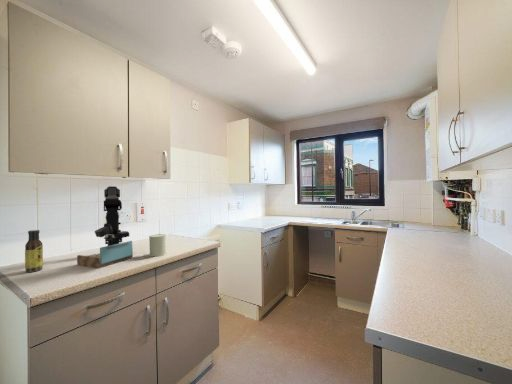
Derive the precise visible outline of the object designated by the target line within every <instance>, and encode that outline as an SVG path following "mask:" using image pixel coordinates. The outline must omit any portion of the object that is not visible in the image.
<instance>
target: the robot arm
mask: <svg viewBox="0 0 512 384" xmlns="http://www.w3.org/2000/svg"><path fill="white" fill-rule="evenodd" d="M103 191H104V193H103V194H104V195H103V196H104V199H105V200H103V212H106V213H105V220H106V223H104V224H103V226H102V227H100V228H98V229H96V230H95V231H94V234H95V236H96V237H97V238H103V239H104V242H105V243H104V245H107V246H110V245H115V244H119V243H123V238H128V237H130V232H129V231H127V230H126V231H124V230H121V229H120V225H122V224H121V223H122V222H120V219H119V218H120V215H119V211H121V210H123V209H122V208H123V204H122V201H121V199H120V197H121V189H120V188H118V187H117V186H116V185H115V186H114V185H113V186H112V185H111V186H107V187H106V188H105V189H104V190H103Z"/></svg>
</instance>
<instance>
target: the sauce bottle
mask: <svg viewBox="0 0 512 384" xmlns="http://www.w3.org/2000/svg"><path fill="white" fill-rule="evenodd" d="M27 235H28V240H27V242H26V243H25V250H24V266H25V267H24V269H25V271H24V272H25V273H34V272H38V271H41V270H43V266H44V262H43V261H44V256H43V253H44V252H43V251H44V249H43V242H42V241H41V240H40V229H31V230H30V229H29V230H28V231H27Z"/></svg>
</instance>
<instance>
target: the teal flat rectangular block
mask: <svg viewBox="0 0 512 384" xmlns="http://www.w3.org/2000/svg"><path fill="white" fill-rule="evenodd" d="M132 250H133V241H132V240H128V241H124V242H123V241H122V242H121V243H119V244H115V245H110V246H108V245H107V246H101V247H99V256H100V264H103V263H107V262H110V261H113V260H117V259H120V258H124V257H127V256H130V255H132Z"/></svg>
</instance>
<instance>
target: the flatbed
mask: <svg viewBox="0 0 512 384" xmlns="http://www.w3.org/2000/svg"><path fill="white" fill-rule="evenodd" d="M133 256H134V255H133V249H132V255H130V256H127V257H124V258H120V259H117V260H113V261H110V262H107V263H103V264H100V255H96V256H89V255H83V254H82V255H80V254H78V255H77V256H76V261H77V262H76V263H77V264H76V265H77V266H81V267H88V268H93V269H100V268H102V267H103V268H104V267H107V266H109V265H110V266H111V265H113V264H116V263H119V262H122V261H125V260H129V259H132V258H133Z"/></svg>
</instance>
